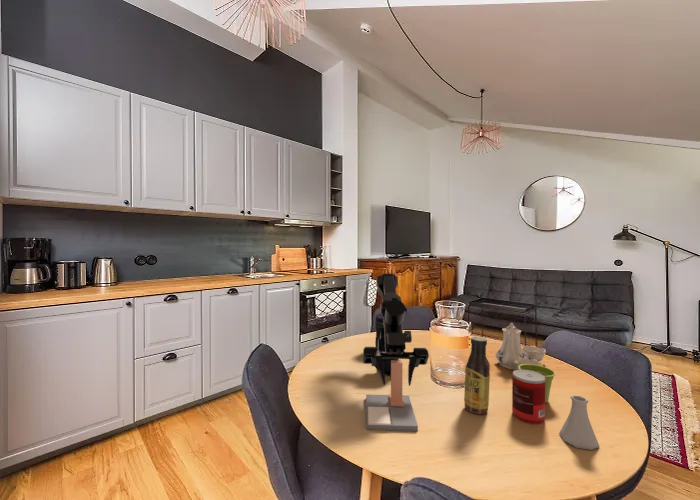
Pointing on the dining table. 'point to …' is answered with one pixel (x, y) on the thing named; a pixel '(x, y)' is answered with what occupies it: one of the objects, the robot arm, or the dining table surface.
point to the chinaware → (517, 350)
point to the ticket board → (389, 414)
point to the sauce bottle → (477, 378)
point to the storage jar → (378, 327)
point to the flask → (579, 426)
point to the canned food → (528, 396)
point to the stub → (396, 384)
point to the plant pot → (544, 371)
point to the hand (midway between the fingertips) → (397, 384)
